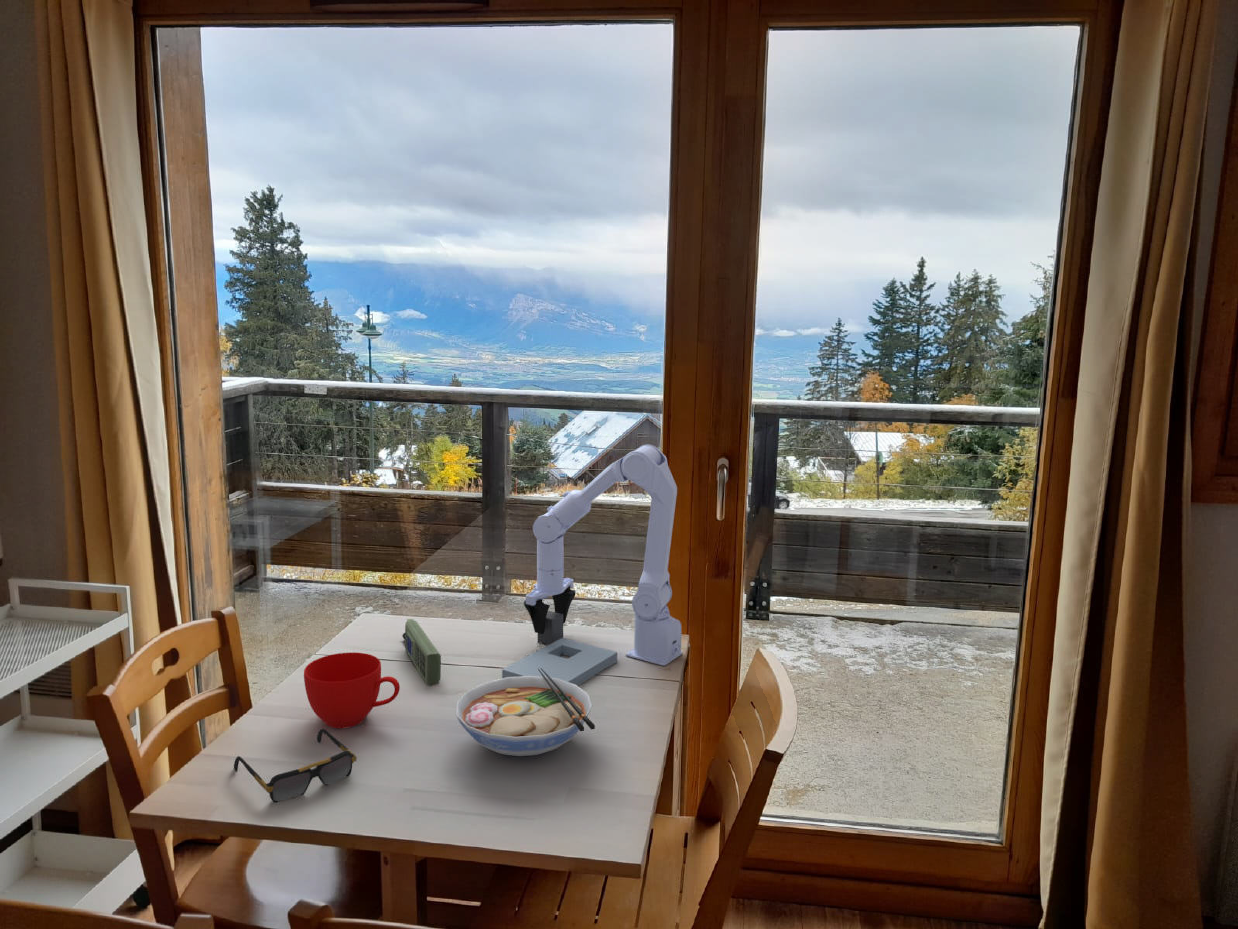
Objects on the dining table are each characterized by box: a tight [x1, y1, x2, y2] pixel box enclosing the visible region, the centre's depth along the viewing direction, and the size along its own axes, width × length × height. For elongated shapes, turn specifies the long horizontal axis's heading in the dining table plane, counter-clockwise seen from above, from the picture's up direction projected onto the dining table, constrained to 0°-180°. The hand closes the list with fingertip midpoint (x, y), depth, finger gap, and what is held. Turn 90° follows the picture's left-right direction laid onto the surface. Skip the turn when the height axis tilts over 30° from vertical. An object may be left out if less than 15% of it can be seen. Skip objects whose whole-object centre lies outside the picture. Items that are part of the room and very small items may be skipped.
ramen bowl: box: [455, 668, 596, 757], centre depth 150 cm, size 25×23×8 cm
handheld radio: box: [402, 618, 442, 686], centre depth 184 cm, size 7×3×25 cm
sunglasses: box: [233, 728, 357, 804], centre depth 141 cm, size 14×15×5 cm
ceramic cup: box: [303, 651, 401, 729], centre depth 157 cm, size 13×17×10 cm
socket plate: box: [501, 637, 618, 687], centre depth 180 cm, size 14×20×2 cm
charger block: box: [537, 610, 564, 646], centre depth 195 cm, size 4×4×6 cm
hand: (550, 627), depth 195 cm, fingers open, 7 cm apart
